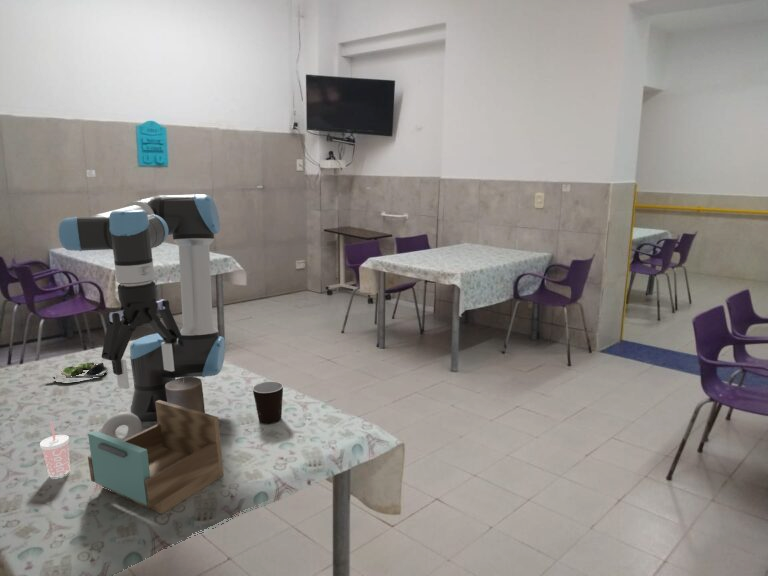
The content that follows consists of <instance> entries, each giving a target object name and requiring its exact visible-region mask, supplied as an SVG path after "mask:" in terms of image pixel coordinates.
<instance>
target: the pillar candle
mask: <svg viewBox="0 0 768 576" xmlns="http://www.w3.org/2000/svg"><path fill="white" fill-rule="evenodd" d="M165 388H166V396H167V402H168V403H171V404H175V405H178V406H182V407H185V408H189V409H192V410H196V411H199V412H202V413H206V410H205V399H204V391H203V390H204V389H203V383H202V379H201V378H200V377H182V378H175V380H172V381H170V382H168V383H167V384H166V385H165Z"/></svg>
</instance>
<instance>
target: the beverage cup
mask: <svg viewBox="0 0 768 576" xmlns="http://www.w3.org/2000/svg"><path fill="white" fill-rule="evenodd" d="M50 428H51V435H52V436H48V437H46V438H44V439H42V440H41V441H40V443H39V446H40V450H41V451H42V453H43V457H44V463H45V465H46V470H47V471H46V472H47V475H48V477H49V476H50V477H59V476H62V475H64V474H67V473H68V472H69V471H71V461H70V448H69V447H70V446H69V442H70V438H69V435H67V434H56V433H55V428H54V422H53V420H50Z"/></svg>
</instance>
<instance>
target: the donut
mask: <svg viewBox="0 0 768 576" xmlns="http://www.w3.org/2000/svg"><path fill="white" fill-rule="evenodd" d="M121 426H127V429H128V430H127V432H126V433H125V434H124V435H121V436H120V435H117V434H116V431H117V429H119V427H121ZM142 431H143V425H142V421H141V420H140V419H139V418H138V417H137V416H136V415H134V414H133V413H131V412H129V411H123V412H117V413H115V414H112V416H110V417H109V418H107V419H106V421H105V422H104V424H103V425H102V427H101V431H100V433H103V434H106V435H108V436H111V437H114V438H117V439H119V440H124V439H127V438H129V437H131V436H133V435H135V434H137V433H139V432H142Z"/></svg>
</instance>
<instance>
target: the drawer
mask: <svg viewBox="0 0 768 576" xmlns="http://www.w3.org/2000/svg"><path fill="white" fill-rule="evenodd" d="M155 404H156V413H157V420H156V421H157V424H155V425H152V426H150V427H149V428H146V429H144V430H142V432H139V433H137V434H135V435H133V436H131V437H129V438H127V439H124V440H122V441H125V442H128V443H130V444H133V445H136V446H139V447H141V448H144V449H147V454H148V462H149V470H150V477H149V478H147V479H145V486H146V494H147V502H148V505H145V504H143V503H141V502H138V501H136V500H134V499H131V498H129V497H127V496H125V495H122V494H120V493H118V492H115V491H113V490H111V489H109V488H107V489H109V490H111V491H113V492H115V493H117V494H119V495H118V496H120V495H121V496H120V497H122V496H123V498H124V497H125V499H127V498H128V499H127V500H129V501H131V500H132V501H131V502H133V501H134V502H133V503H136V504H138V505H140V506H142V507H145V508H147V509H150V510H152V511H153V512H156V513H158V514H159V515H160V514H161V515H163V514H164V513H166V512H167V511H170V510H171V509H172V508H174V507H175V506H177V505H180V503H182V502H184V501H186V500H187V499H188V498H190V497H191V496H193V495H195V494H197V493H198V492H199V491H201V490H202V489H204V488H206V487H207V486H209V485H211V484H212V483H214V482H215V481H217V480H218V479H220V478H221V477H223V476H224V468H223V467H224V466H223V465H224V464H223V456H222V444H221V435H220V421H219V416H216V415H212V414H209V413H206V412H205V413H202V412H199V411H196V410H192V409H189V408H185V407H182V406H178V405H175V404H171V403H168V402H165V401H161V400H158V401H156V402H155ZM87 461H88V462H87V463H88V467H89V473H90V474H89V476H90V481H91V482H93V483H95V479H94V472H93V465H92V458H91V454H90V455H89V456H87ZM101 487H104V486H102V485H101ZM104 488H106V487H104ZM104 488H103V489H104ZM111 491H110V492H111ZM113 492H112V493H113ZM115 493H114V494H115ZM117 494H116V495H117Z"/></svg>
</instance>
